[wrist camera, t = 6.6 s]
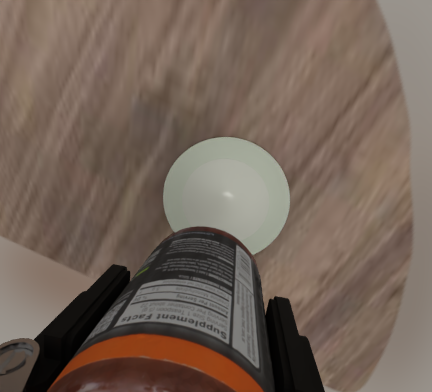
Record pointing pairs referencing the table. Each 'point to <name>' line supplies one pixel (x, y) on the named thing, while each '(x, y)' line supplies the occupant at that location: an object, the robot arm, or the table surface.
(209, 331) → the supplement bottle
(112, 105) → the table surface
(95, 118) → the table surface
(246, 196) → the dish
